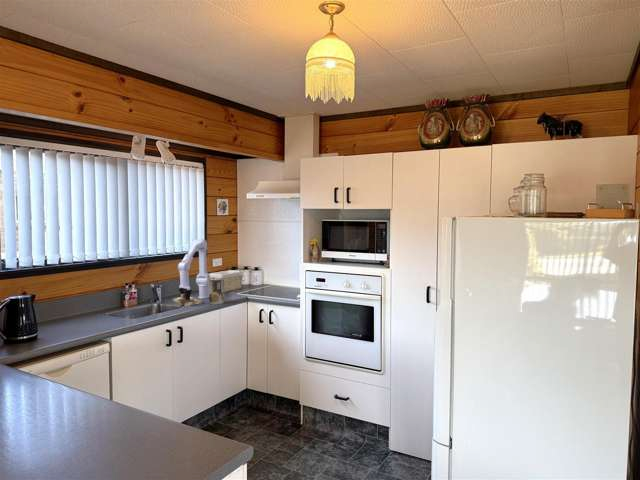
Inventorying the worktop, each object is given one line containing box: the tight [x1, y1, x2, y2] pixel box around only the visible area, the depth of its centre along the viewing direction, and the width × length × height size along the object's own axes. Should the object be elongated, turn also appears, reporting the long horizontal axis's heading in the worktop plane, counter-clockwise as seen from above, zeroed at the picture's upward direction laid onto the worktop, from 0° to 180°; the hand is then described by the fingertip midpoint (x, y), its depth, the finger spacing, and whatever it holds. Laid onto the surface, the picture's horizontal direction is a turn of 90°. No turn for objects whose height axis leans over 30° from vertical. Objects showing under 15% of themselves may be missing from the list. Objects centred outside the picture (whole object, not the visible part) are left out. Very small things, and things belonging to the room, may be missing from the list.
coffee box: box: [208, 280, 226, 305], centre depth 311 cm, size 9×6×16 cm
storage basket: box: [208, 269, 243, 293], centre depth 362 cm, size 24×16×15 cm
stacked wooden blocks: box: [177, 294, 195, 306], centre depth 310 cm, size 10×5×7 cm, turn 128°
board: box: [172, 296, 204, 307], centre depth 317 cm, size 12×24×2 cm, turn 38°
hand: (185, 299), depth 309 cm, fingers open, 7 cm apart
